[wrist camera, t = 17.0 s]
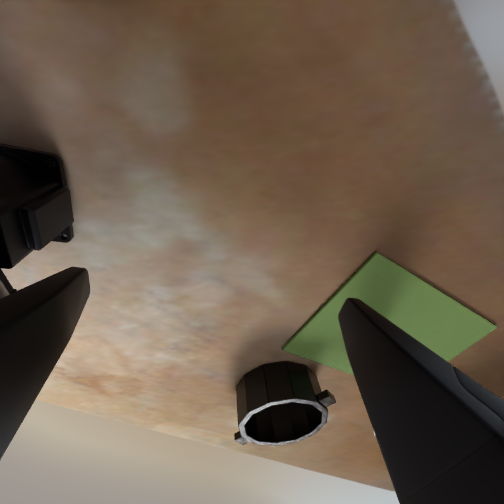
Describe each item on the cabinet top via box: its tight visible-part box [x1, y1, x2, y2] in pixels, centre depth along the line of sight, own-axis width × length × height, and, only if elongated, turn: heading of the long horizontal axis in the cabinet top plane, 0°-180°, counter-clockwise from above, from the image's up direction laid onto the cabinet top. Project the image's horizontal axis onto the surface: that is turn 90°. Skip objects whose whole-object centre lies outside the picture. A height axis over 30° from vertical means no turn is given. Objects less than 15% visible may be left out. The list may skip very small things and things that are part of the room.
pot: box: [234, 361, 336, 446], centre depth 32 cm, size 10×13×4 cm
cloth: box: [282, 252, 497, 375], centre depth 30 cm, size 22×15×1 cm
